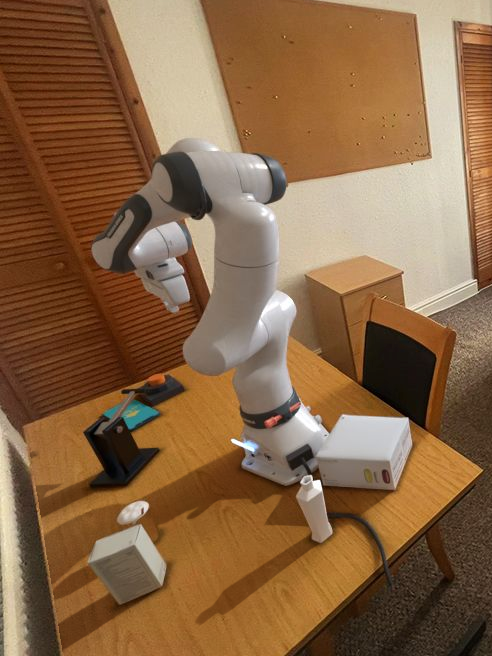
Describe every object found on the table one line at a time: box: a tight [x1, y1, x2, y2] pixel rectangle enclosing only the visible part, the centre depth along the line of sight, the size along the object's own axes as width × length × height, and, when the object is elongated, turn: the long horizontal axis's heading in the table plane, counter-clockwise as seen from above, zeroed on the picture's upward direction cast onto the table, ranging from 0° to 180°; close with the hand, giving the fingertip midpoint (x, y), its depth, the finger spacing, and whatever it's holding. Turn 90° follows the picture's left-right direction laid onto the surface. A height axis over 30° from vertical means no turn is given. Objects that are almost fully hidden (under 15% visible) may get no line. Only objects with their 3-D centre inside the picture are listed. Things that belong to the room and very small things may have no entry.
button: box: [147, 372, 166, 386], centre depth 119 cm, size 4×4×2 cm
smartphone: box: [102, 398, 161, 432], centre depth 112 cm, size 7×1×15 cm
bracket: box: [82, 417, 161, 489], centre depth 93 cm, size 10×8×14 cm
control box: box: [136, 373, 186, 407], centre depth 120 cm, size 10×8×4 cm
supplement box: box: [316, 414, 413, 491], centre depth 94 cm, size 17×13×9 cm
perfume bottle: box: [295, 475, 334, 544], centre depth 78 cm, size 5×4×15 cm
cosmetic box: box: [87, 524, 168, 606], centre depth 70 cm, size 6×4×12 cm
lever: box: [94, 388, 148, 439], centre depth 95 cm, size 12×6×2 cm, turn 3°
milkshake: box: [116, 500, 160, 544], centre depth 78 cm, size 4×5×10 cm
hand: (173, 311), depth 113 cm, fingers closed
